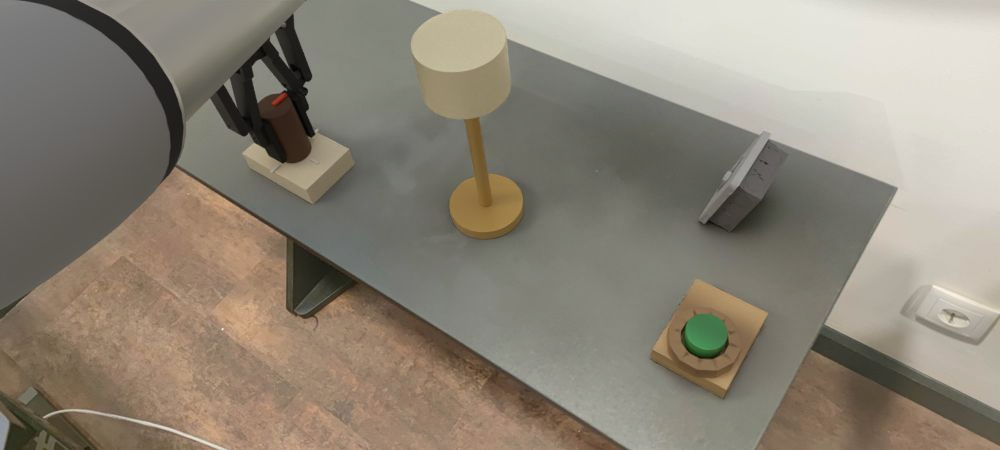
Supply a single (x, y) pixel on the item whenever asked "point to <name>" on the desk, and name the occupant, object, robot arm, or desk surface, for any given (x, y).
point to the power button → (705, 335)
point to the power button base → (741, 336)
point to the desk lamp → (470, 109)
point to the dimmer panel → (305, 167)
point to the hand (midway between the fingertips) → (292, 144)
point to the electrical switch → (745, 183)
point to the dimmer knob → (285, 126)
